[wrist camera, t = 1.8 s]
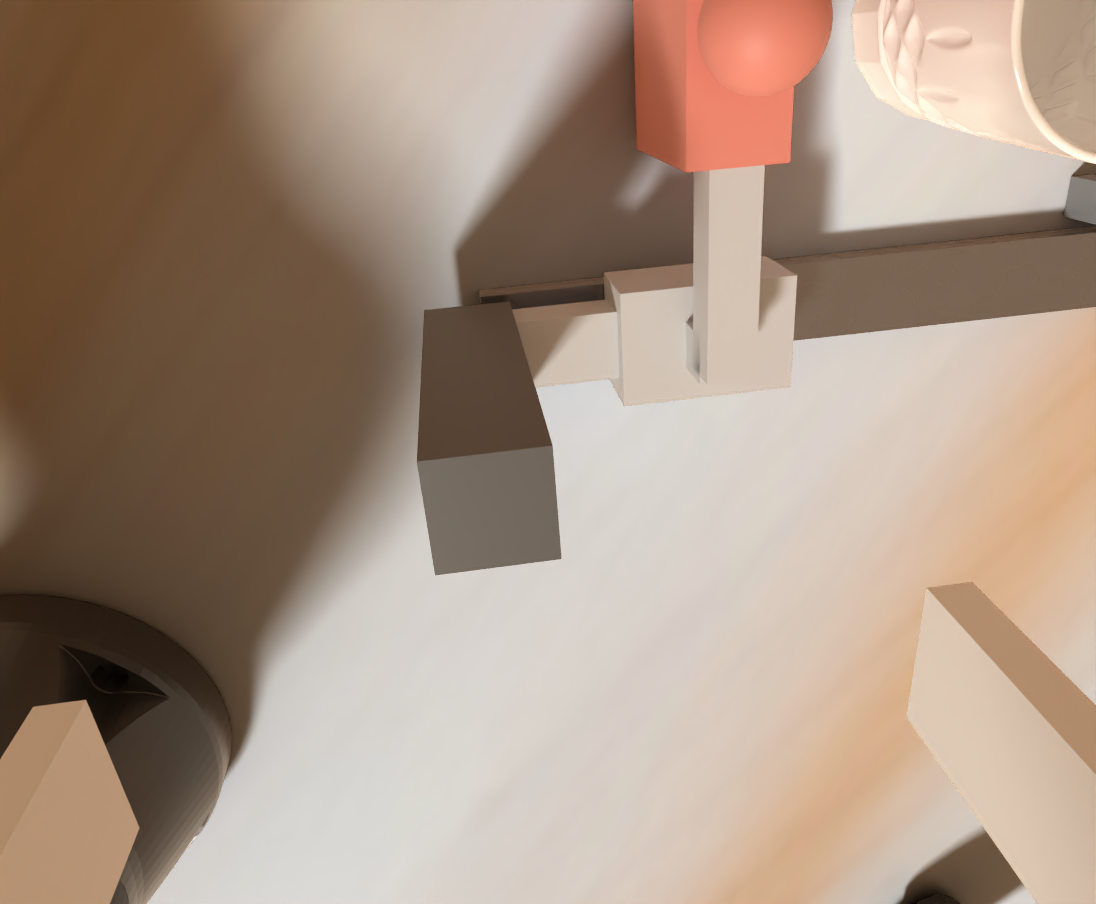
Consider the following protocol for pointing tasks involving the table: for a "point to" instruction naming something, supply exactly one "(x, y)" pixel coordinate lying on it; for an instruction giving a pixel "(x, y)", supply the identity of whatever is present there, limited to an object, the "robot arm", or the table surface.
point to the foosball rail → (905, 283)
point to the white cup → (987, 67)
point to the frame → (1082, 199)
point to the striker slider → (629, 286)
